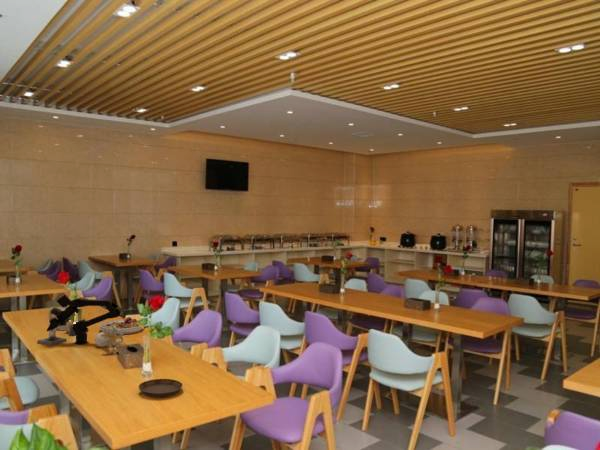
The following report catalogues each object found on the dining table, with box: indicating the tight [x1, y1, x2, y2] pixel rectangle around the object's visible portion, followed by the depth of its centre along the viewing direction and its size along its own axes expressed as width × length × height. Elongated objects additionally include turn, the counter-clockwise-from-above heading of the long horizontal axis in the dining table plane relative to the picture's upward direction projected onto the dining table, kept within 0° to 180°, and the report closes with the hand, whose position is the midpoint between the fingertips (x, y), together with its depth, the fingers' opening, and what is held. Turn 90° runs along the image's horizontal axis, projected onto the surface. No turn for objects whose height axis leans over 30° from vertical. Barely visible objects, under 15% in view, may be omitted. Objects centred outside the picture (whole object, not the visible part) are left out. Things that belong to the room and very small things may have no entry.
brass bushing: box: [65, 320, 73, 335], centre depth 355 cm, size 4×4×9 cm
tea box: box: [54, 307, 83, 332], centre depth 369 cm, size 15×10×15 cm, turn 143°
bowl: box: [99, 316, 143, 335], centre depth 367 cm, size 30×30×8 cm
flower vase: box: [94, 324, 124, 355], centre depth 316 cm, size 13×18×25 cm
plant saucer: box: [138, 378, 183, 398], centre depth 246 cm, size 21×21×3 cm
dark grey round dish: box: [36, 336, 67, 347], centre depth 328 cm, size 12×12×2 cm
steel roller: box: [48, 323, 57, 341], centre depth 328 cm, size 4×4×12 cm
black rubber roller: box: [69, 324, 76, 337], centre depth 349 cm, size 4×4×7 cm
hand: (50, 329), depth 328 cm, fingers open, 9 cm apart
